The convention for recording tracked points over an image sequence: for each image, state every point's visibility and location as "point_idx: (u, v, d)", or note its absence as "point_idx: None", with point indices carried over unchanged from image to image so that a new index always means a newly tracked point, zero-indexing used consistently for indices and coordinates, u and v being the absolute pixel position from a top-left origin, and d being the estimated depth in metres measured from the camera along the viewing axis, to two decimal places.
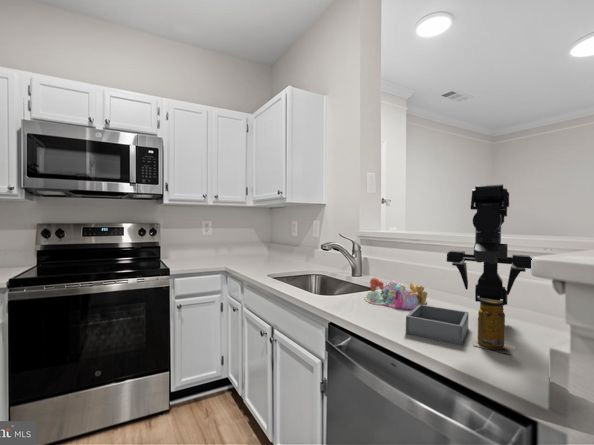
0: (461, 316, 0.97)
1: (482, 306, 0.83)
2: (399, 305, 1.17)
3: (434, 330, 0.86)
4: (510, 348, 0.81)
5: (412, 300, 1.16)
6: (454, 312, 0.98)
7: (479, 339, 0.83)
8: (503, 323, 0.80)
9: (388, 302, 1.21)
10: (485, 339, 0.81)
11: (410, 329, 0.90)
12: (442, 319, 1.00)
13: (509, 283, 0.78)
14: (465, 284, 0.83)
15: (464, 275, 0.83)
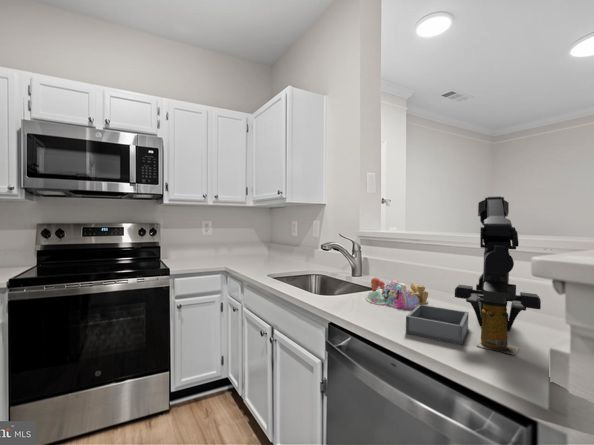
0: (461, 316, 0.97)
1: (485, 306, 0.82)
2: (400, 305, 1.17)
3: (434, 330, 0.86)
4: (514, 348, 0.81)
5: (413, 300, 1.17)
6: (454, 312, 0.98)
7: (482, 339, 0.83)
8: (506, 323, 0.80)
9: (389, 302, 1.21)
10: (488, 340, 0.81)
11: (410, 329, 0.90)
12: (442, 319, 1.00)
13: (510, 320, 0.79)
14: (479, 321, 0.83)
15: (478, 312, 0.83)
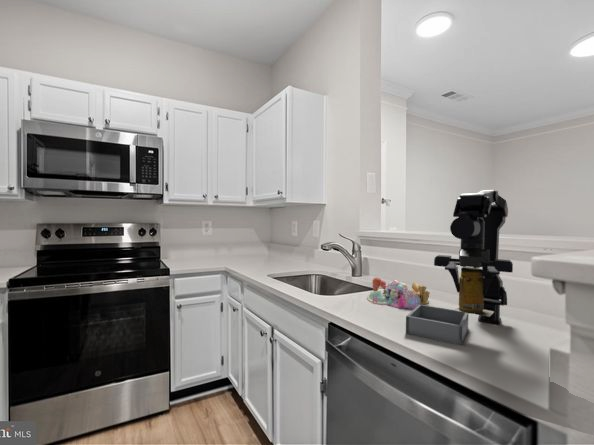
0: (461, 316, 0.97)
1: (463, 273, 0.87)
2: (402, 304, 1.17)
3: (434, 330, 0.86)
4: (489, 312, 0.85)
5: (414, 299, 1.17)
6: (454, 312, 0.98)
7: (460, 305, 0.87)
8: (482, 288, 0.85)
9: (390, 301, 1.22)
10: (465, 304, 0.85)
11: (410, 329, 0.90)
12: (442, 319, 1.00)
13: (485, 285, 0.84)
14: (457, 287, 0.88)
15: (456, 279, 0.88)
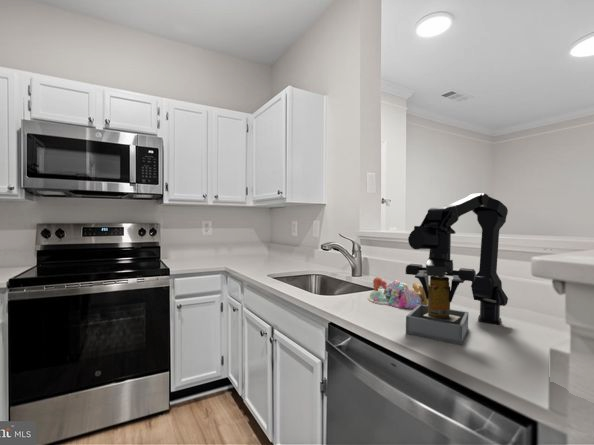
0: (461, 316, 0.97)
1: (431, 281, 0.94)
2: (402, 304, 1.18)
3: (434, 330, 0.86)
4: (455, 317, 0.92)
5: (415, 299, 1.17)
6: (454, 312, 0.98)
7: (428, 310, 0.94)
8: (448, 295, 0.91)
9: (391, 301, 1.22)
10: (433, 310, 0.92)
11: (410, 329, 0.90)
12: None
13: (451, 292, 0.91)
14: (426, 294, 0.95)
15: (425, 286, 0.95)
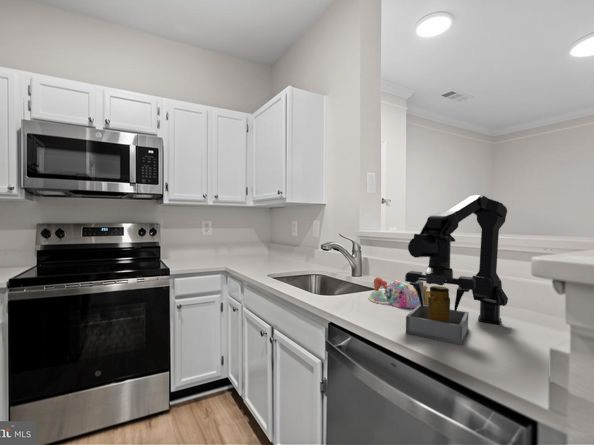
0: (461, 316, 0.97)
1: (431, 292, 0.94)
2: (403, 304, 1.18)
3: (434, 330, 0.86)
4: None
5: (416, 299, 1.18)
6: (454, 312, 0.98)
7: None
8: (448, 306, 0.91)
9: (392, 301, 1.22)
10: None
11: (410, 329, 0.90)
12: None
13: (456, 301, 0.90)
14: (421, 301, 0.96)
15: (420, 293, 0.95)
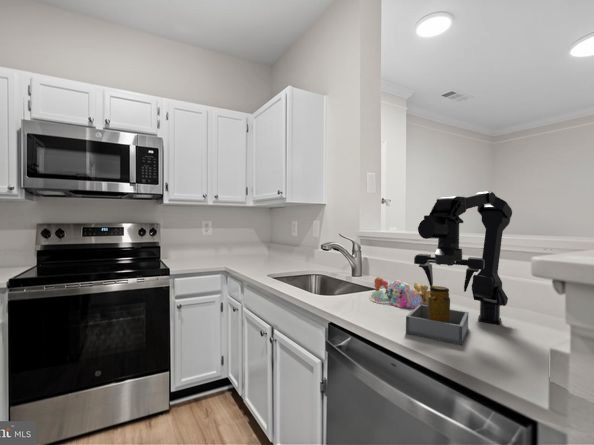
0: (461, 316, 0.97)
1: (431, 292, 0.94)
2: (404, 304, 1.18)
3: (434, 330, 0.86)
4: None
5: (416, 299, 1.18)
6: (454, 312, 0.98)
7: None
8: (448, 306, 0.91)
9: (393, 301, 1.22)
10: None
11: (410, 329, 0.90)
12: None
13: (465, 282, 0.91)
14: (430, 283, 0.96)
15: (429, 275, 0.96)
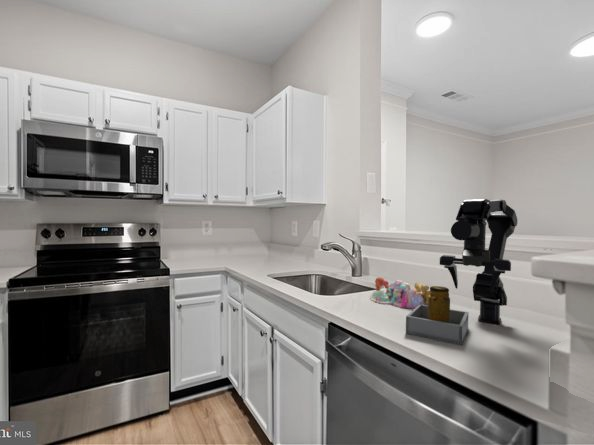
0: (461, 316, 0.97)
1: (431, 292, 0.94)
2: (404, 304, 1.18)
3: (434, 330, 0.86)
4: None
5: (417, 299, 1.18)
6: (454, 312, 0.98)
7: None
8: (448, 306, 0.91)
9: (393, 301, 1.23)
10: None
11: (410, 329, 0.90)
12: None
13: (492, 283, 0.92)
14: (455, 284, 0.98)
15: (454, 276, 0.97)
